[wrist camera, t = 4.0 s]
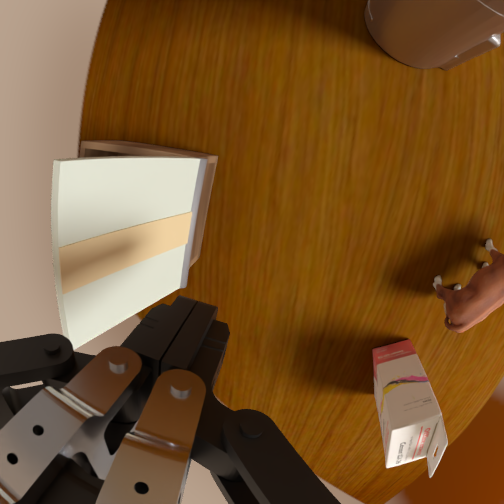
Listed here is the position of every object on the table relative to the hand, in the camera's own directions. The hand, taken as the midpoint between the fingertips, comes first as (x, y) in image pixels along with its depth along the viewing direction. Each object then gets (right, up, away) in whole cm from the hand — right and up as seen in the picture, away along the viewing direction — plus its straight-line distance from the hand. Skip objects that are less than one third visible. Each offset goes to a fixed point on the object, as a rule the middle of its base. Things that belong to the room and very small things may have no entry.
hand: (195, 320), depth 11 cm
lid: (-5, +3, +6) cm, 8 cm away
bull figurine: (+26, +1, +13) cm, 29 cm away
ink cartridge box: (+19, -11, +19) cm, 29 cm away
